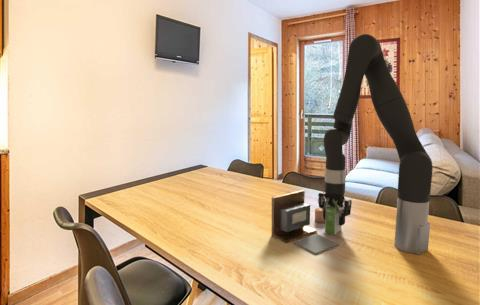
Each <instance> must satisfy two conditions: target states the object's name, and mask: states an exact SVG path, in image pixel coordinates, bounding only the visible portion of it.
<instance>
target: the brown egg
mask: <svg viewBox="0 0 480 305" xmlns="http://www.w3.org/2000/svg"><path fill="white" fill-rule="evenodd" d="M314 222H315V223H318V224H325V220H324V218H323V210H322V208H319V207H317V208H315V209H314Z"/></svg>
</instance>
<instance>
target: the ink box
mask: <svg viewBox="0 0 480 305" xmlns="http://www.w3.org/2000/svg"><path fill="white" fill-rule="evenodd" d="M337 202H338V200H337V201H336V208H335V207H333V206H329V207H328V208H326V220H325V223H324V227H325V228H324V233H325V234H328V235H332V236H335V235H336V234H338V233H339V232H340V231H341V230H342V226H340V225H339V216H340V215H339V213H338V211H337ZM339 208H341V206H340V207H339Z"/></svg>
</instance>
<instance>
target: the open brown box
mask: <svg viewBox="0 0 480 305" xmlns="http://www.w3.org/2000/svg"><path fill="white" fill-rule="evenodd" d="M305 194H306V193H305V190H303V189H301V190H298V191H297V190H296V191H292V192H289V193H285V194H279V195H275V196H271V237H274V238H275V239H277V240H279V241H281V242H283V243H285V244H287V243H291V242H295V241H298V240H300V239H301V238H302V239H303V238H306V237H309V236H312V235H313V234H314V235H315V234H317V232H318V229H315V228H313V227H311V226H310V225H311V204H310V203H306V202H305Z"/></svg>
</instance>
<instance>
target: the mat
mask: <svg viewBox="0 0 480 305" xmlns="http://www.w3.org/2000/svg"><path fill="white" fill-rule="evenodd" d="M293 245H296V246H298V247H300V248H301V249H303V250H306V251H307V252H310V253H311V254H314V255H315V256H317V255H318V254H321V253H324V252H326V251H329V250H331V249H333V248H336V247H338V246H340V243H339V242H336V241H334V240H332V239H331V238H328V237H325V236H323V235H321V234H319V233H315V234H314V235H313V234H312V235H309V236H306V237H303V238H302V239H298V240H295V241H293Z"/></svg>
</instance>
